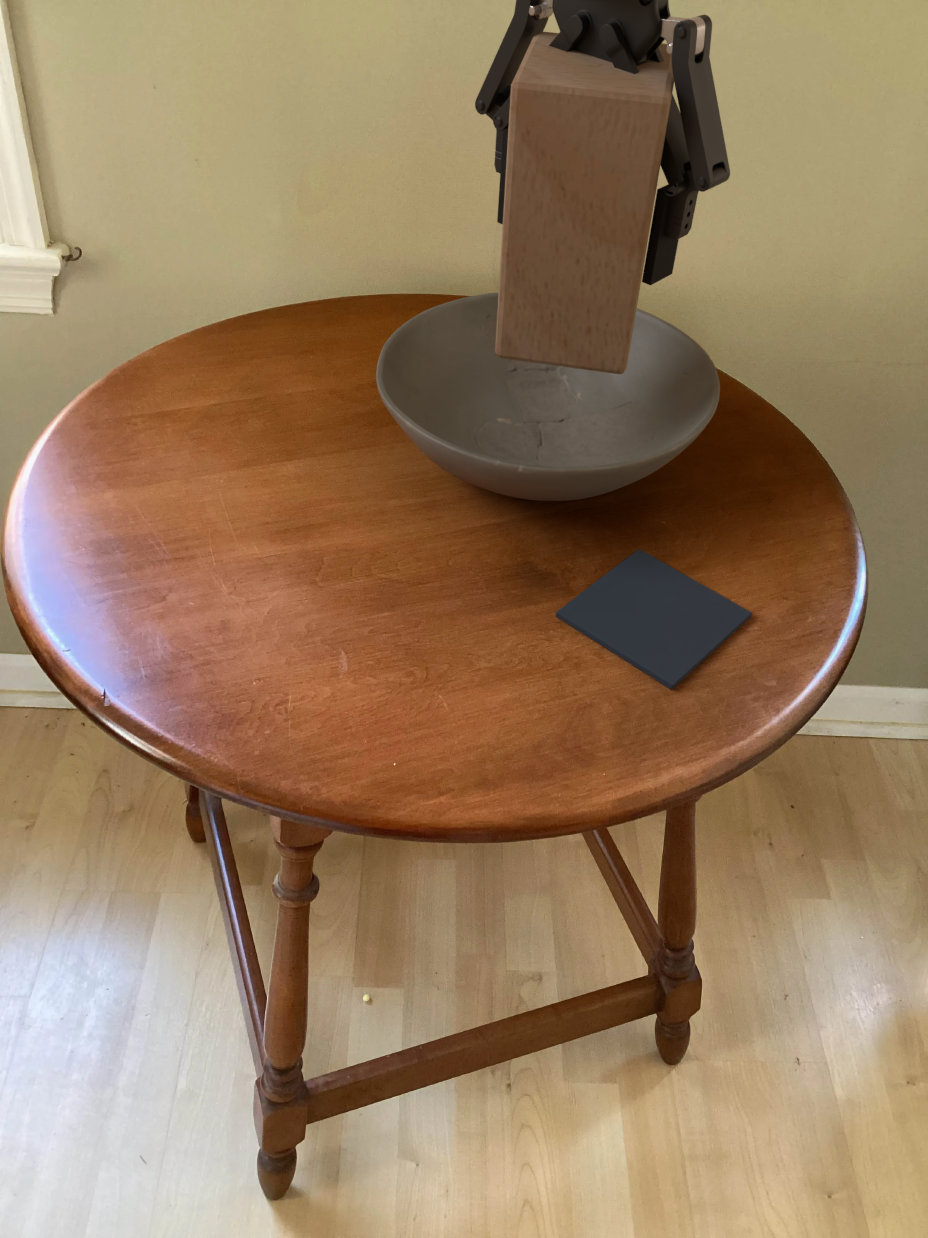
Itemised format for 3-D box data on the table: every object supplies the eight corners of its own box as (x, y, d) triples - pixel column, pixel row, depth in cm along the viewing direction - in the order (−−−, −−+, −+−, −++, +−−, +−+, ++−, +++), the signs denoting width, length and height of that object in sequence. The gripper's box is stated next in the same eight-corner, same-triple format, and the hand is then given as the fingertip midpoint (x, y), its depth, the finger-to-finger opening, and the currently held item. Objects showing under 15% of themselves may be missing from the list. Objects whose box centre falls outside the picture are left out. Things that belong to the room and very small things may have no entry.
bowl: (729, 406, 95) (749, 324, 90) (656, 595, 76) (676, 505, 71) (451, 342, 102) (454, 261, 96) (320, 501, 83) (314, 411, 77)
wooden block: (625, 377, 78) (671, 95, 64) (493, 359, 79) (510, 78, 65) (636, 310, 85) (680, 42, 70) (514, 295, 86) (534, 27, 72)
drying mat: (750, 617, 75) (752, 612, 75) (671, 690, 70) (673, 685, 69) (638, 553, 80) (639, 548, 79) (555, 616, 74) (556, 611, 74)
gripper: (840, -65, 59) (753, 288, 74) (508, -131, 71) (489, 184, 86) (772, -47, 55) (694, 323, 70) (431, -121, 67) (426, 209, 81)
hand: (581, 247), depth 78 cm, fingers closed on wooden block, 13 cm apart
